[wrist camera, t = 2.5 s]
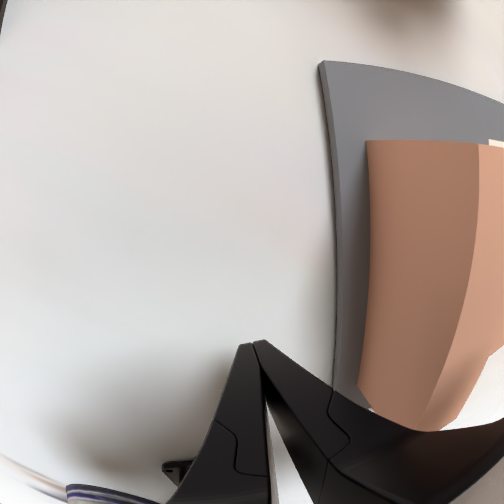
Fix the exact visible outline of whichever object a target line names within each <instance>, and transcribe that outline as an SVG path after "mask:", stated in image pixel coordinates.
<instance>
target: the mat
mask: <svg viewBox="0 0 504 504" xmlns="http://www.w3.org/2000/svg"><path fill="white" fill-rule="evenodd" d="M318 65H319V71H320V76H321V82H322V88H323V95H324V101H325V108H326V115H327V123H328V131H329V139H330V148H331V158H332V169H333V181H334V194H335V211H336V232H337V327H336V348H335V364H334V377H333V389H334V391H335V390H336V391H337V392H339V393H340V394H342V395H343V396H345V397H346V398H348V399H350V400H351V401H353V402H354V403H356V404H358V405H360V406H362V407H364V408H366V409H369V408H371V406H370V404H369V403H368V401H367V400H366V398H365V397H364V395H363V394H362V392H361V391H360V389H359V388H358V386H357V383H358V377H359V371H360V364H361V357H362V350H363V342H364V334H365V324H366V314H367V303H368V289H369V270H370V190H369V171H368V158H367V146H366V140H435V141H453V142H466V143H477V144H484V145H491V146H497V147H503V148H504V104H503V103H500V102H498V101H496V100H493V99H491V98H489V97H486V96H484V95H481V94H479V93H476V92H473V91H470V90H468V89H465V88H462V87H459V86H456V85H453V84H450V83H446V82H443V81H440V80H436V79H433V78H429V77H425V76H421V75H417V74H413V73H408V72H404V71H399V70H394V69H389V68H383V67H377V66H371V65H364V64H356V63H347V62H337V61H322V62H321V63H319V64H318Z"/></svg>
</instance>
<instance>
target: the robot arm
mask: <svg viewBox="0 0 504 504" xmlns="http://www.w3.org/2000/svg"><path fill="white" fill-rule="evenodd" d="M266 403H267V405H266ZM267 406H268V408H269V411H270V413H271V415H272V417H273V420H274V422H275V424H276V426H277V429H278V431H279V433H280V435H281V437H282V440H283V442H284V444H285V446H286V448H287V450H288V452H289V454H290V457H291V459H292V461H293V463H294V465H295V467H296V469H297V471H298V473H299V475H300V477H301V479H302V481H303V483H304V485H305V487H306V489H307V491H308V493H309V495H310V497H311V499H312V501H313V503H314V504H504V418H502V419H500V420H498V421H495V422H493V423H489V424H485V425H480V426H474V427H467V428H460V429H452V430H442V431H429V432H427V431H418V430H414V429H410V428H408V427H405V426H403V425H400V424H398V423H396V422H393V421H391V420H389V419H387V418H384V417H382V416H380V415H378V414H376V413H374V412H371V411H369V410H367V409H366V408H364V407H362V406H360V405H358V404H356V403H354V402H353V401H351V400H350V399H348V398H346V397H345V396H343V395H342V394H340V393H339V392H337V391H336V390H335V391H334V389H333V388H331V387H330V386H328V385H327V384H325V383H324V382H323V381H321V380H320V379H318V378H317V377H315V376H314V375H313V374H311V373H310V372H308V371H307V370H306V369H304V368H303V367H301V366H300V365H299V364H297V363H296V362H294V361H293V360H292V359H290V358H289V357H288V356H286V355H285V354H284V353H282V352H281V351H280V350H278V349H277V348H276V347H274V346H273V345H272V344H270V343H269V342H268V341H266V340H259V341H254V342H253V343H245V344H240V345H239V346H238V349H237V352H236V355H235V358H234V361H233V364H232V367H231V369H230V372H229V375H228V378H227V381H226V384H225V386H224V389H223V392H222V395H221V398H220V401H219V403H218V406H217V409H216V412H215V414H214V417H213V420H212V422H211V425H210V428H209V431H208V433H207V435H206V438H205V440H204V443H203V445H202V447H201V449H200V451H199V452H198V454H197V456H196V458H195V460H194V462H183V463H166V464H163V465H162V471H163V472H164V473H165V474H166V475H167V477H168V478H169V479H170V480H171V481H172V482H173V483H174V484H175V485H176V486H177V487H178V489H177V490H176V492H175V494H174V495H173V496H172V498H171V499H170V500H169V501H168V502H167V503H166V504H279V498H278V490H277V483H276V475H275V467H274V459H273V451H272V444H271V436H270V428H269V420H268V412H267Z"/></svg>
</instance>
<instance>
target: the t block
mask: <svg viewBox="0 0 504 504" xmlns="http://www.w3.org/2000/svg"><path fill="white" fill-rule="evenodd" d="M366 146H367V158H368V171H369V190H370V270H369V289H368V303H367V314H366V324H365V334H364V342H363V350H362V357H361V364H360V371H359V377H358V383H357V386H358V388H359V389H360V391H361V392H362V394H363V395H364V397H365V398H366V400H367V401H368V403H369V404H370V406H371V407H372V409H373V410H374V412H375V413H376V414H378V415H380V416H382V417H384V418H387V419H389V420H391V421H393V422H396V423H398V424H400V425H403V426H405V427H408V428H410V429H414V430H418V431H427V432H429V431H439V430H440V429H442V428H443V427H445V426H446V425H447V424H449V423H450V422H452V421H453V420H455V419H456V418H457V416H458V414H459V413H460V411H461V409H462V408H463V406H464V404H465V403H466V401H467V399H468V397H469V395H470V394H471V392H472V390H473V388H474V386H475V384H476V382H477V380H478V378H479V376H480V374H481V372H482V370H483V368H484V366H485V364H486V361H487V359H488V357H489V356H490V355H492V354H493V353H494V352H495V351H497V350H498V349H499V348H500V347H501V346H503V345H504V148H503V147H497V146H491V145H484V144H477V143H466V142H453V141H435V140H366Z"/></svg>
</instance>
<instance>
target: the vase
mask: <svg viewBox="0 0 504 504" xmlns="http://www.w3.org/2000/svg"><path fill="white" fill-rule="evenodd" d="M66 493H67V499H68V504H159V503H156V502H153V501H150V500H147V499H144V498H140V497H137V496H133V495H130V494H126V493H122V492H118V491H114V490H110V489H105V488H101V487H96V486H90V485H82V484H71V485H68V486H66Z"/></svg>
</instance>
